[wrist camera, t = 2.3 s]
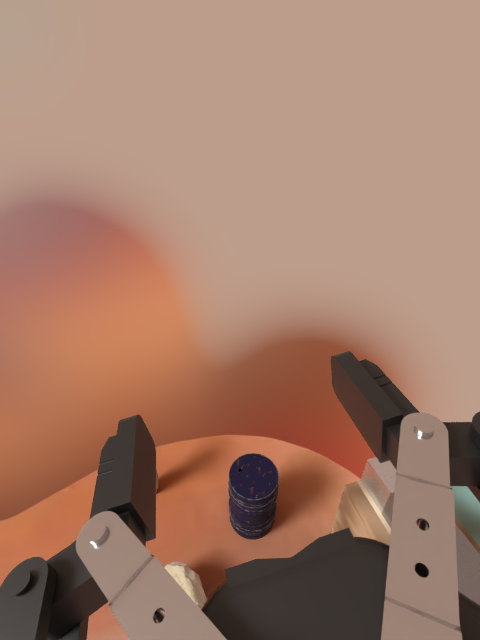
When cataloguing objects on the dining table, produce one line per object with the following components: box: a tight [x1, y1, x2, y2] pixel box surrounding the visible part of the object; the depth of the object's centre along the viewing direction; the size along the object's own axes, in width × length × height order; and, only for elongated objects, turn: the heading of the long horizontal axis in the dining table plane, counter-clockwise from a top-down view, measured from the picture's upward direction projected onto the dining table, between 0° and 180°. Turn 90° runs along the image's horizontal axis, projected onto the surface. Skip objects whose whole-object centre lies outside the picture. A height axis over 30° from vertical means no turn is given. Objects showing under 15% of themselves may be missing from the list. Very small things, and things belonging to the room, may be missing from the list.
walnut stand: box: [331, 480, 480, 554], centre depth 44 cm, size 18×16×38 cm
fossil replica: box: [164, 561, 207, 609], centre depth 57 cm, size 12×8×10 cm
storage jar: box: [229, 453, 279, 540], centre depth 69 cm, size 10×10×15 cm
